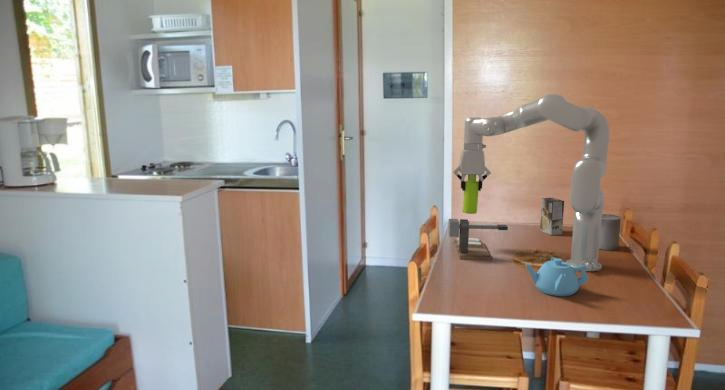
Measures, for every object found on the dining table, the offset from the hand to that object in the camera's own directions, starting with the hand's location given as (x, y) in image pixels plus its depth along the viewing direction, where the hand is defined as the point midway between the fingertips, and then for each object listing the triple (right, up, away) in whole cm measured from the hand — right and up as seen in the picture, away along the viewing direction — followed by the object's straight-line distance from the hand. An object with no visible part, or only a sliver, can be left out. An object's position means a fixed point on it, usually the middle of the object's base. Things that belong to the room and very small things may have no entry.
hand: (471, 189), depth 226 cm
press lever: (0, -18, -10) cm, 21 cm away
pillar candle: (+58, -25, +4) cm, 63 cm away
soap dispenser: (0, -10, +2) cm, 10 cm away
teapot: (+19, -34, -46) cm, 60 cm away
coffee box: (+43, -20, +29) cm, 56 cm away
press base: (0, -25, -1) cm, 25 cm away
